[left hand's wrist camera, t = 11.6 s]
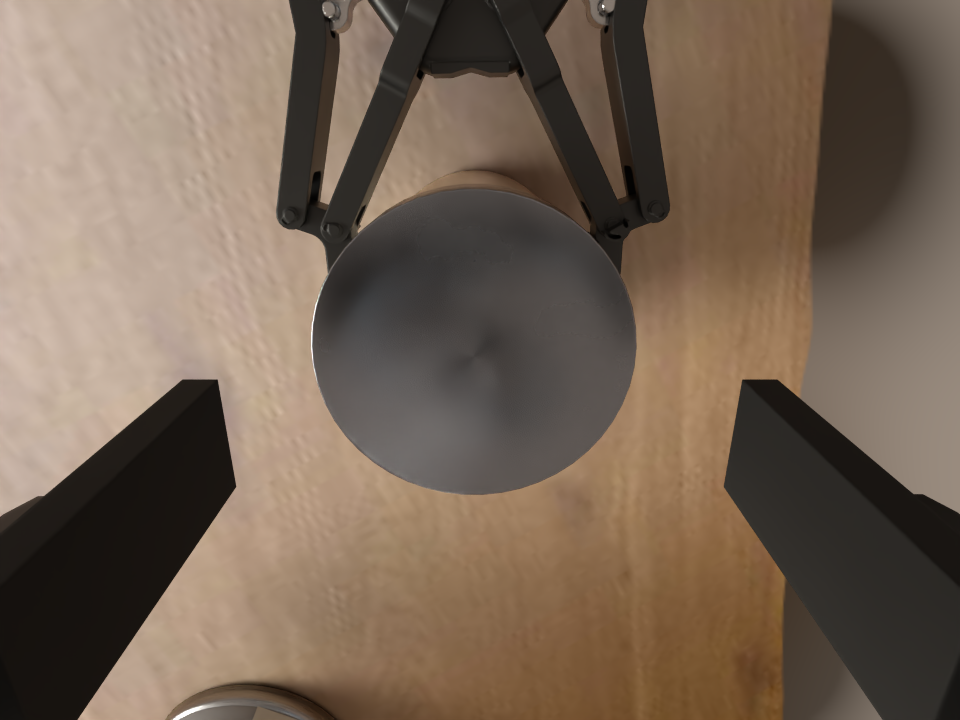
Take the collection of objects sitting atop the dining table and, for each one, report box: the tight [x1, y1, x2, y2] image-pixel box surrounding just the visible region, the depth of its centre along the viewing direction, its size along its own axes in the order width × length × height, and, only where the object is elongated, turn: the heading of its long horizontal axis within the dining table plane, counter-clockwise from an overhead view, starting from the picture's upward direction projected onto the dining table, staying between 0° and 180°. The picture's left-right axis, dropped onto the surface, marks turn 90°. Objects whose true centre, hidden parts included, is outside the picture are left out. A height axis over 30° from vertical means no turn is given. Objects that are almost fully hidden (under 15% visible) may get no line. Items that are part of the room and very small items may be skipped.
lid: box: [311, 184, 636, 495], centre depth 19 cm, size 10×10×2 cm
